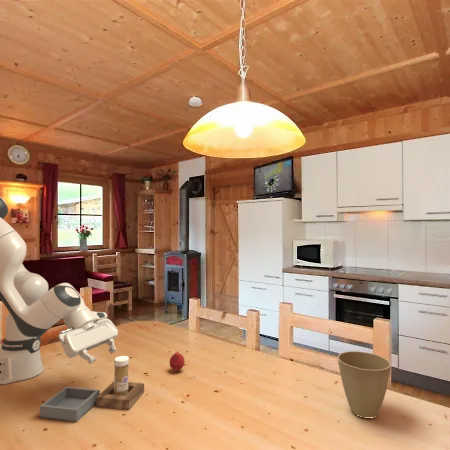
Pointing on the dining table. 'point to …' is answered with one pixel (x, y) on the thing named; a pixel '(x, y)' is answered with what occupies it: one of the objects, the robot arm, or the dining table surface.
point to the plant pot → (364, 381)
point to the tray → (69, 404)
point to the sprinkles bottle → (121, 375)
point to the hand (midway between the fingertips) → (103, 356)
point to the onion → (177, 361)
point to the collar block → (120, 397)
